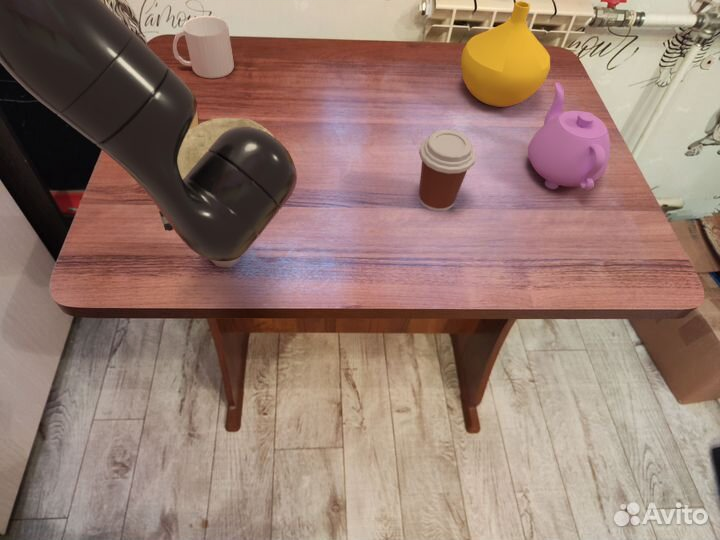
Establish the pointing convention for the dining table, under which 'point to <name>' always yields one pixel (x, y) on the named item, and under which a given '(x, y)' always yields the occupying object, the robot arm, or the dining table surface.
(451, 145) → the coffee cup
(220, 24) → the mug
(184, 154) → the bowl
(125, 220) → the dining table surface
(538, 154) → the teapot
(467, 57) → the vase
